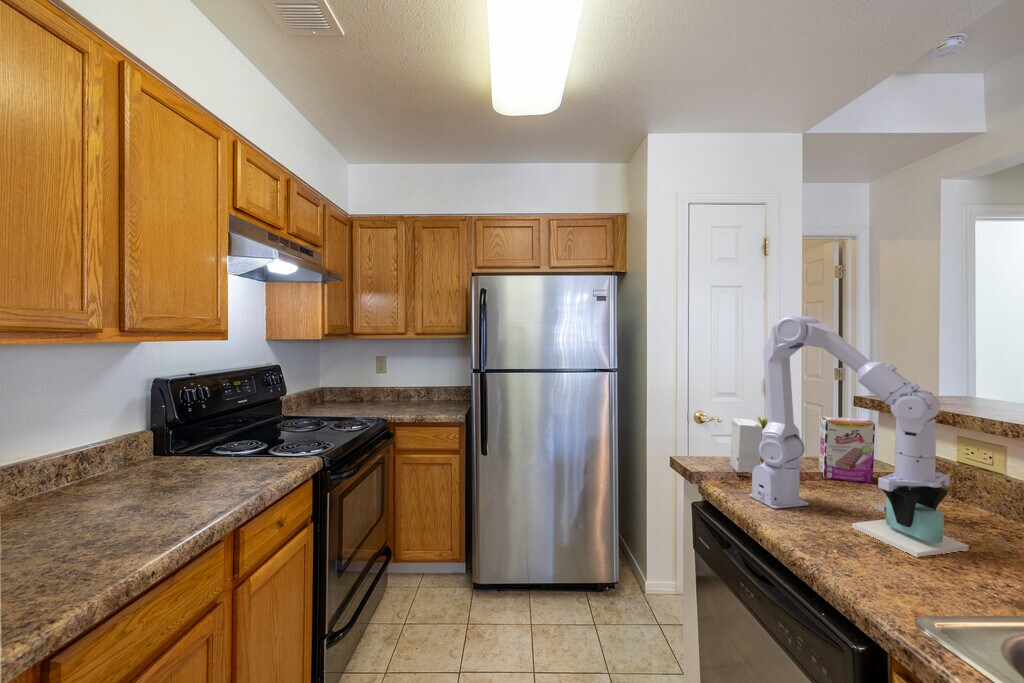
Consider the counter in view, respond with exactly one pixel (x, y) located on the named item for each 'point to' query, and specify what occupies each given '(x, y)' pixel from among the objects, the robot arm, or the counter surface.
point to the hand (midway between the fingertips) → (913, 523)
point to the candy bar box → (847, 449)
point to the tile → (907, 539)
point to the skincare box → (745, 444)
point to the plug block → (917, 521)
